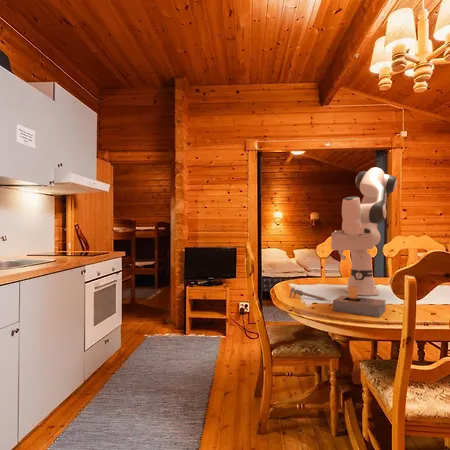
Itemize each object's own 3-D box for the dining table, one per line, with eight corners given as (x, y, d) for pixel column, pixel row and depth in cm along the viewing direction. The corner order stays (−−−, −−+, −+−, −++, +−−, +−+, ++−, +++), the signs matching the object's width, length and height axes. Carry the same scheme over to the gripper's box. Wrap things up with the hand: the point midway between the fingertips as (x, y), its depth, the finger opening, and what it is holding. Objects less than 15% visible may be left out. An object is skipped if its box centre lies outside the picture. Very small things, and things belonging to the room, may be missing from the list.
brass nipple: (347, 306, 165) (347, 285, 165) (356, 306, 164) (356, 286, 164) (348, 308, 161) (348, 287, 161) (357, 308, 160) (357, 287, 160)
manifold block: (342, 305, 172) (342, 295, 172) (385, 311, 160) (385, 300, 160) (333, 310, 160) (333, 300, 160) (378, 317, 149) (379, 305, 149)
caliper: (289, 297, 192) (289, 286, 192) (290, 297, 193) (290, 286, 193) (327, 301, 182) (327, 289, 183) (327, 300, 183) (327, 289, 184)
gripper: (334, 231, 160) (335, 260, 160) (375, 229, 163) (375, 259, 163) (328, 230, 166) (329, 259, 166) (367, 229, 169) (368, 257, 169)
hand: (352, 259), depth 165 cm, fingers open, 8 cm apart
